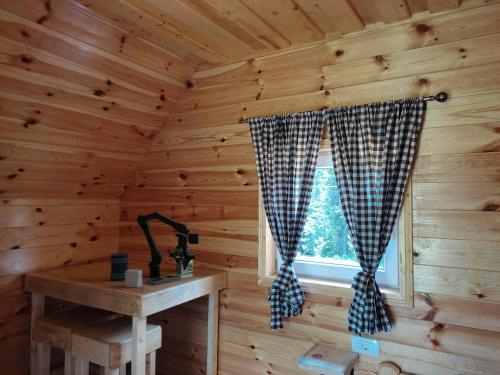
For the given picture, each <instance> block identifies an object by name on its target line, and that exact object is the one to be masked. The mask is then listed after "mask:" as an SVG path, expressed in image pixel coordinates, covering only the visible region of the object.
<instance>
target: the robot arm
mask: <svg viewBox="0 0 500 375" xmlns="http://www.w3.org/2000/svg"><path fill="white" fill-rule="evenodd" d="M154 219H156V220H158V221H159V222H162V223H163V224H165V225H168V226H170V227H172V229H174V230H175V231H176V232H177V233H176V234H175V235H174V237H175V238H177V245H175V248H174V249H172V250H170V251H169V255H168V256H169V257H170V258H172V259H173V260H175V264H176V263H179V260H182V261H183V264H184V270H186V268H187V266H188V264H189V262H190V261H191V260H192V259H193V260H195V259H196V255H195V254H194V253H193V254H188V252H187V249H188V248H189V245H199V244H200V239H201V238H200V233H199V232H193V233H192V232H191V231H190V229H189V226H188V225H187V223H183V222H181V221H176V220H174V219H172V218H170V217H167V216H166V215H164V214H162V213H160V212H158V211H154V212H152V213H149V214H140V215H138V216H137V217H136V222H137V224H138V226H139V227H140V228H141V230H142V231H143V233H144V234H143V235H144V236H145V240H146V241H147V244H148V248H149V250H150V259H151V261H150V262H149V263H148V264H147V266H148V268H149V273H148V274H149V275H147V276H146V277H147V278H155V277H161V276H163V275H161V274H160V273H161V267H160V266H161V263H163V262H164V260H165V254H164V253H163V250H159V248H158V246H157V243H156V240H155V237H154V235H153V232H152V229H151V222H150V221H152V220H154ZM188 244H189V245H188ZM183 257H184V259H182V258H183Z"/></svg>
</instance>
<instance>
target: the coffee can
mask: <svg viewBox="0 0 500 375" xmlns="http://www.w3.org/2000/svg"><path fill="white" fill-rule="evenodd" d="M187 252H188V254H194V250H193V249H190V248H187ZM182 259H184V257H183V258H182ZM193 263H194V259H192V260H191V261H190V262H189V264H188V273H192V272H193V271H194V267H193Z"/></svg>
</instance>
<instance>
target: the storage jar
mask: <svg viewBox="0 0 500 375" xmlns="http://www.w3.org/2000/svg"><path fill="white" fill-rule="evenodd" d="M128 264H129V253H127V252H126V253H125V252H121V253H120V252H119V253H117V252H116V253H112V254H110V281H111V282H114V281H119V282H125V271H127V270H129V269H128V267H129V265H128Z"/></svg>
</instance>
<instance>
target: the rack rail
mask: <svg viewBox="0 0 500 375" xmlns="http://www.w3.org/2000/svg"><path fill="white" fill-rule="evenodd" d="M172 274H173V273H171V274H166V275H162V276H161V277H155V278H151V277H149V278H146V279H145V283H146V284H149V285H153V286H158V285H163V284H167V283H173V282H178V281H181V280H182V279H181V276H176V275H172Z"/></svg>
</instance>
